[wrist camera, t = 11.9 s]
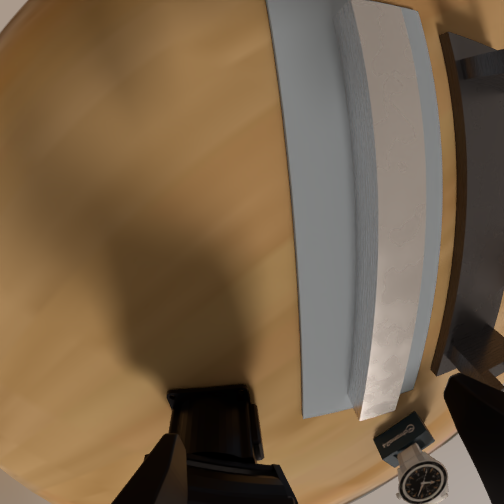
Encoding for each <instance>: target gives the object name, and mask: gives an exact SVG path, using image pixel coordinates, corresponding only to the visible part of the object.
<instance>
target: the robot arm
mask: <svg viewBox="0 0 504 504" xmlns="http://www.w3.org/2000/svg"><path fill="white" fill-rule="evenodd" d="M240 390H243V391H240ZM171 395H173V396H171ZM444 399H445V402H446V404H447V407H448V409H449V411H450V414H451V416H452V419H453V421H454V424H455V426H456V429H457V431H458V433H459V435H460V437H461V439H462V441H463V443H464V445H465V447H466V449H467V451H468V453H469V455H470V457H471V459H472V461H473V463H474V465H475V467H476V469H477V471H478V473H479V475H480V478H481V480H482V482H483V484H484V487H485V489H486V491H487V493H488V496H489V498H490V500H491V503H492V504H504V392H503V391H501V390H499V389H496V388H494V387H492V386H489V385H487V384H485V383H482V382H480V381H478V380H476V379H473V378H471V377H469V376H467V375H464V374H462V373H457V374H454V375H452V376H450V378H449V379H448V382H447V385H446V388H445V390H444ZM167 400H168V402H169V404H170V407H171V409H172V415H171V421H170V427H169V433H167V434H164V435H163V436H162V438H161V439H160V440H159V442H158V443H157V444H156V446H155V447H154V448H153V450H152V451H151V452H150V454H146V455H145V458H144V462H143V463H142V464H141V466H140V467H139V468H138V470H137V471H136V472H135V474H134V475H133V476H132V478H131V479H130V480H129V481H128V483H127V484H126V485H125V487H124V488H123V489H122V491H121V492H120V493H119V494H118V496H117V497H116V498H115V499H114V501H113V502H112V503H111V504H298V502H297V499H296V497H295V495H294V493H293V491H292V489H291V487H290V485H289V483H288V481H287V479H286V477H285V475H284V473H283V471H282V469H281V467H280V465H276V464H272V465H263V464H257V461H258V460H262V459H263V458H264V452H263V445H262V437H261V429H260V422H259V416H258V410H257V406H256V405H255V404H251V402H250V397H249V391H248V387H247V386H246V385H244V384H238V385H229V386H219V387H208V388H195V389H178V390H169V391H168V392H167Z"/></svg>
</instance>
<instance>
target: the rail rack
mask: <svg viewBox="0 0 504 504" xmlns="http://www.w3.org/2000/svg"><path fill="white" fill-rule="evenodd" d="M439 37H440V41H441V45H442V50H443V54H444V59H445V64H446V69H447V74H448V80H449V86H450V92H451V99H452V107H453V116H454V126H455V138H456V155H457V212H456V229H455V242H454V252H453V261H452V269H451V277H450V283H449V290H448V296H447V301H446V307H445V312H444V317H443V322H442V326H441V331H440V335H439V339H438V343H437V347H436V351H435V355H434V359H433V362H432V366H431V370H432V372H433V373H434V374H435V375H436V376H439V375H442V374H444V373H446V372H449V371H451V370H454V369H456V368H457V369H458V370H459V371H460V372H461V373H462V374H464V375H467V376H469V377H471V378H473V379H476V380H478V381H480V382H482V383H485V384H487V385H489V386H492V387H494V388H496V389H499V390H501V391H504V386H503V385H502V384H501V383H500V381H499V380H498V379H497V378H496V376H498V375H500V374H502V373H503V372H504V337H503V336H502V335H501V334H499V333H498V332H497V331H496V330H495V329H494V326H495V322H496V319H497V315H498V312H499V308H500V304H501V300H502V296H503V291H504V49H502V50H495V49H493V48H491V47H488V46H486V45H483V44H481V43H478V42H476V41H473V40H471V39H468V38H465V37H462V36H460V35H457V34H454V33H451V32H446V33H444V34H441V35H439Z"/></svg>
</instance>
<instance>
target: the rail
mask: <svg viewBox="0 0 504 504" xmlns="http://www.w3.org/2000/svg"><path fill="white" fill-rule="evenodd" d="M332 21H333V26H334V31H335V36H336V41H337V46H338V51H339V57H340V63H341V69H342V75H343V82H344V88H345V96H346V103H347V111H348V120H349V129H350V139H351V150H352V163H353V177H354V196H355V224H356V281H355V309H354V328H353V342H352V355H351V366H350V376H349V385H348V394H347V395H348V398H349V400H350V402H351V404H352V406H353V409H354V411H355V413H356V415H357V417H358V420H359V421H362V420H366V419H369V418H372V417H376V416H379V415H382V414H385V413H388V412H391V411H394V410H395V409H396V406H397V402H398V399H399V395H400V391H401V388H402V384H403V380H404V376H405V372H406V367H407V363H408V359H409V354H410V349H411V344H412V339H413V334H414V329H415V323H416V317H417V310H418V304H419V296H420V289H421V280H422V271H423V260H424V247H425V229H426V161H425V144H424V131H423V121H422V111H421V103H420V96H419V89H418V83H417V77H416V71H415V65H414V60H413V55H412V50H411V46H410V41H409V37H408V33H407V29H406V25H405V21H404V18H403V14H402V10H401V7H396V6H392V5H387V4H382V3H377V2H371V1H365V0H348V1H347V3H346V4H345V5H344V6H343V7H342V8H341V9H340V10H339V12H338V13H337V14H336V15H335V16H334V17H333V19H332Z"/></svg>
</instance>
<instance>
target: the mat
mask: <svg viewBox="0 0 504 504" xmlns="http://www.w3.org/2000/svg"><path fill="white" fill-rule="evenodd" d="M347 1H348V0H266V5H267V11H268V17H269V23H270V30H271V36H272V42H273V49H274V56H275V63H276V70H277V77H278V85H279V92H280V100H281V108H282V116H283V125H284V133H285V142H286V151H287V161H288V171H289V181H290V192H291V203H292V215H293V227H294V240H295V254H296V269H297V285H298V302H299V323H300V347H301V379H302V416H303V419H305V418H310V417H315V416H320V415H325V414H329V413H334V412H338V411H342V410H346V409H350V408H353V406H352V404H351V402H350V400H349V398H348V395H347V394H348V385H349V376H350V366H351V355H352V342H353V328H354V309H355V281H356V224H355V196H354V177H353V163H352V150H351V139H350V129H349V120H348V111H347V103H346V96H345V88H344V82H343V75H342V69H341V63H340V57H339V51H338V46H337V41H336V36H335V31H334V26H333V21H332V19H333V17H334V16H335V15H336V14H337V13H338V12H339V10H340V9H341V8H342V7H343V6H344V5H345V4H346V3H347ZM365 1H369V0H365ZM371 2H375V1H371ZM377 3H380V2H377ZM382 4H385V3H382ZM387 5H390V4H387ZM392 6H394V5H392ZM396 7H399V6H396ZM401 10H402V14H403V18H404V21H405V25H406V29H407V33H408V37H409V41H410V46H411V50H412V55H413V60H414V65H415V71H416V77H417V83H418V89H419V96H420V103H421V111H422V121H423V131H424V144H425V161H426V229H425V247H424V260H423V271H422V280H421V289H420V296H419V304H418V310H417V317H416V323H415V329H414V334H413V339H412V344H411V349H410V354H409V359H408V363H407V367H406V372H405V376H404V380H403V384H402V388H401V391H400V394H401V393H404V392H407V391H410V390H413V388H414V385H415V381H416V378H417V374H418V371H419V367H420V363H421V359H422V355H423V351H424V346H425V342H426V337H427V333H428V328H429V323H430V317H431V312H432V306H433V300H434V294H435V287H436V280H437V272H438V263H439V253H440V241H441V225H442V152H441V136H440V125H439V115H438V106H437V99H436V92H435V85H434V79H433V73H432V68H431V63H430V58H429V53H428V48H427V44H426V40H425V36H424V32H423V28H422V24H421V20H420V17H419V13H418V11H415V10H411V9H407V8H403V7H401Z"/></svg>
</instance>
